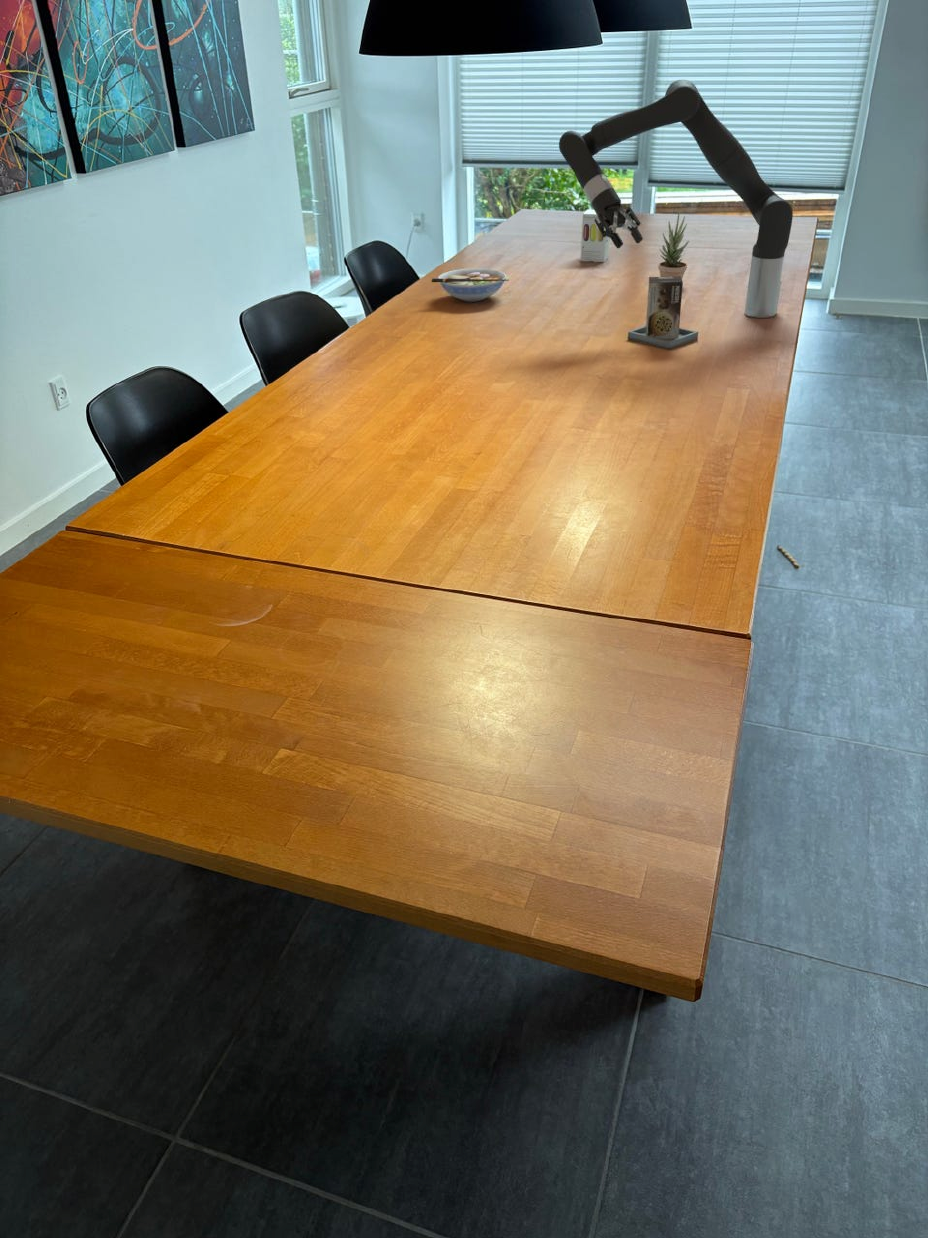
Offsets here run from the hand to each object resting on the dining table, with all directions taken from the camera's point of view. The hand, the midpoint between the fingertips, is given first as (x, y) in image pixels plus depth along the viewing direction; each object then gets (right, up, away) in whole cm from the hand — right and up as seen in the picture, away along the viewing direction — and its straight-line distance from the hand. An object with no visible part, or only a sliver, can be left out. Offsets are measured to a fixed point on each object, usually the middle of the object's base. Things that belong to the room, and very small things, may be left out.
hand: (630, 243), depth 266 cm
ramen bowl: (-44, 0, +48) cm, 65 cm away
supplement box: (+2, +30, +90) cm, 95 cm away
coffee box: (+10, -25, +5) cm, 27 cm away
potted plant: (+23, +7, +54) cm, 59 cm away
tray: (+10, -26, +5) cm, 28 cm away
